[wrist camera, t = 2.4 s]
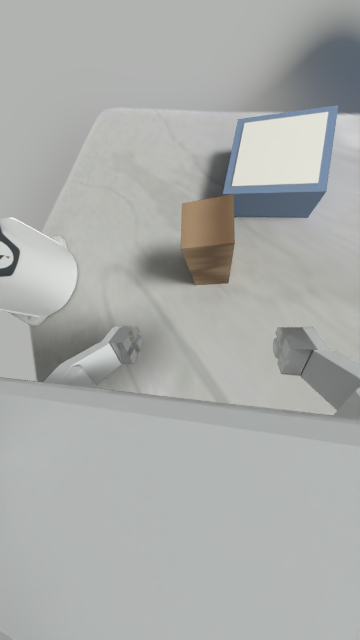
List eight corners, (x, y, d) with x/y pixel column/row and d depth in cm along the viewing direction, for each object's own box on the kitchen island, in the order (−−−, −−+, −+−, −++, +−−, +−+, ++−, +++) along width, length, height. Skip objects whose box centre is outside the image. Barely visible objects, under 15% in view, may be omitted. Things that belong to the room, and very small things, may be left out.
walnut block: (195, 285, 25) (180, 248, 16) (195, 255, 26) (182, 203, 16) (228, 283, 24) (234, 242, 14) (227, 252, 25) (233, 194, 15)
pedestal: (222, 216, 26) (222, 192, 22) (235, 151, 27) (238, 117, 23) (308, 217, 23) (327, 190, 19) (318, 143, 24) (339, 103, 20)
